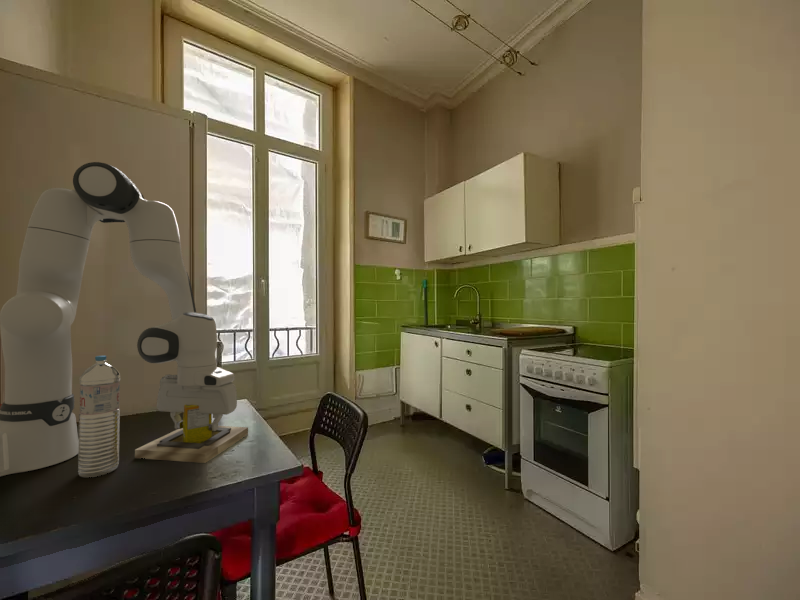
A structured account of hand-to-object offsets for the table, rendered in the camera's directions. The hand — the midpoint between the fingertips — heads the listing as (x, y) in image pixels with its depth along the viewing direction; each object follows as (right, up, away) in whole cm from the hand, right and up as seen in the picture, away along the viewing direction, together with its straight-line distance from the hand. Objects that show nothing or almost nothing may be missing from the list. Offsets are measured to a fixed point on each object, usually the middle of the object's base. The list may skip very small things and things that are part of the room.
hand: (196, 429), depth 92 cm
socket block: (0, -4, 0) cm, 4 cm away
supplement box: (0, -4, 0) cm, 4 cm away
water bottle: (-13, -4, -15) cm, 20 cm away
